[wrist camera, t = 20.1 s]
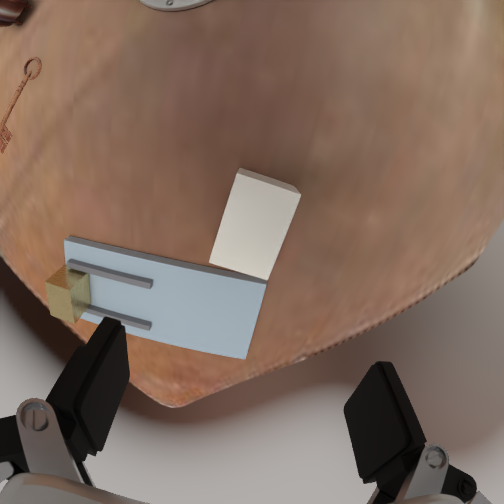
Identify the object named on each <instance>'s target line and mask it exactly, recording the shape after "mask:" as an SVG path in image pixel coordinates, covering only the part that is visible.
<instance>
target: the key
mask: <svg viewBox="0 0 504 504" xmlns="http://www.w3.org/2000/svg"><path fill="white" fill-rule="evenodd" d="M33 59H35V60H36V61H37V62H38V71H37V73H36V74H35V75H34V76H33V77H30V74H31V71H29V72H28V73H26V70H27V66H28V64H29V63H30V61H32V60H33ZM40 71H41V61H40V60H39V59H38V58H36V57H33V58H31V59H29V60H28V61H27V62H26V64H25V66H24V75H25V78H24V79H23V81H22V82H21V85H20V86H19V87H18V90H17V91H16V92H15V95H14V97H13V99H12V101H11V103H10V105H9V107H8V109H7V111H6V114H5V116H4V118H3V120H2V122H1V125H0V137H1V138H2V139H3V140H4V141H5V139H4V138H5V137H6V140H7V141H8V142H9V141H10V139H11V138H10V136H11V137H12V136H13V135H12V134H11V133H10V131H9V132H8V129H7V128H6V126H5V123H6V121H7V119H8V117H9V115H10V112H11V110H12V108H13V106H14V104H15V103H16V101H17V99H18V97H19V95H20V94H21V91H22V90H23V87H24V86H25V84H26V82H27V80H28V79H30V80H32V79H35V78H36V77H37V76H38V75H39V73H40ZM4 129H5V130H4ZM7 133H8V134H7ZM1 134H2V135H1ZM6 135H7V136H6ZM2 136H3V137H4V138H3V137H2ZM1 138H0V149H1V153H2V154H3V152H4V150H5V148H6V146H7V145H8V143H7V142H6V141H5V142H6V144H7V145H6V144H5V143H3V142H4V141H3V140H2V139H1ZM2 144H3V146H2ZM1 147H2V148H1Z"/></svg>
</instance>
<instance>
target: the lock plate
mask: <svg viewBox="0 0 504 504" xmlns="http://www.w3.org/2000/svg"><path fill="white" fill-rule="evenodd" d="M64 248H65V262H66V265H67V267H68V268H72V269H75V270H79V271H82V272H86V273H89V286H90V298H91V305H90V306H89V307H88V308H87V309H86V311H85V312H84V313H83V314H82V316H81V317H80V318H81V319H84V320H87V321H90V322H93V323H96V324H100V323H101V321H102V320H103V318H104V317H105V316H107V317H110V318H114V319H117V320H120V321H121V325H124V326H125V329H126V333H129V334H132V335H136V336H140V337H143V338H147V339H151V340H155V341H159V342H163V343H167V344H171V345H175V346H179V347H184V348H188V349H193V350H198V351H202V352H207V353H212V354H218V355H223V356H228V357H234V358H240V359H246V355H247V352H248V348H249V345H250V341H251V338H252V335H253V331H254V328H255V324H256V321H257V317H258V314H259V310H260V306H261V303H262V299H263V296H264V292H265V289H266V285H267V283H266V280H265V279H261V278H258V277H255V276H251V275H247V274H242V273H237V272H232V271H227V270H222V269H217V268H212V267H207V266H202V265H198V264H193V263H188V262H183V261H179V260H174V259H169V258H165V257H160V256H156V255H151V254H146V253H142V252H138V251H133V250H129V249H124V248H120V247H115V246H111V245H107V244H102V243H98V242H94V241H90V240H85V239H81V238H77V237H73V236H69V237H68V238H66V239H65V240H64Z"/></svg>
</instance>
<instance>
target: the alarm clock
mask: <svg viewBox="0 0 504 504" xmlns="http://www.w3.org/2000/svg"><path fill="white" fill-rule="evenodd" d="M27 3H28V1H27V0H0V27H7V26H11V25H12V24H13V23H16V24H19V25H21V24H22V22H19V21H18V20H16V19H17V17H18V16H19V15H20V14H21V12H22V11H23V9H24V8H25V7H28V8H31V7H32V6H29V5H27Z"/></svg>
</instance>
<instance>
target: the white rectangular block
mask: <svg viewBox="0 0 504 504" xmlns="http://www.w3.org/2000/svg"><path fill="white" fill-rule="evenodd" d="M300 197H301V194H300V193H299V191H298V190H297V189H296V188H295V186H293V185H290V184H287V183H284V182H282V181H279V180H276V179H273V178H270V177H267V176H264V175H261V174H258V173H255V172H252V171H249V170H246V169H243V168H239V170H238V172H237V174H236V177H235V180H234V183H233V187H232V190H231V193H230V196H229V199H228V202H227V205H226V208H225V211H224V215H223V218H222V221H221V224H220V227H219V231H218V234H217V237H216V240H215V244H214V247H213V250H212V254H211V257H210V260H209V263H212V264H215V265H218V266H222V267H225V268H228V269H231V270H235V271H238V272H241V273H245V274H248V275H251V276H255V277H258V278H261V279H265V280H268V278H269V275H270V273H271V270H272V268H273V266H274V263H275V261H276V258H277V256H278V253H279V251H280V248H281V246H282V243H283V241H284V238H285V236H286V233H287V231H288V228H289V225H290V223H291V220H292V218H293V215H294V213H295V210H296V208H297V205H298V202H299V200H300Z"/></svg>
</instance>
